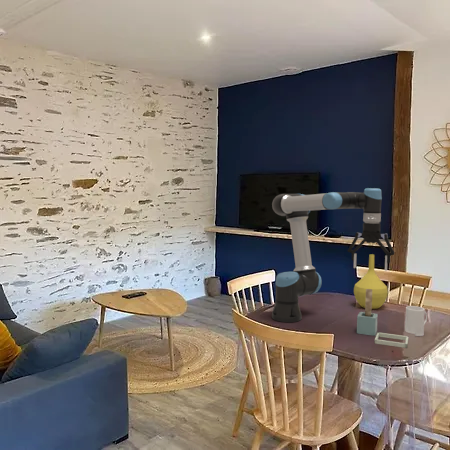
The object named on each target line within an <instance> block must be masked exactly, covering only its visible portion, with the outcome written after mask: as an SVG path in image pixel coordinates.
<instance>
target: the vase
mask: <svg viewBox="0 0 450 450" xmlns="http://www.w3.org/2000/svg"><path fill="white" fill-rule="evenodd" d="M366 289H372V310H376V309H380V308H381V307H382V306H383V305H384V304H385V302H386V300H387V298H388V292H389V291H388V286H387V285H386V284H385V283H384V282H383V280H381V278H380V277H379V276H378V275H377V273H376V272H375V254H373V253H372V254H369V257H368V270H367V272H366V273H365V274H364V275H363V276H362V278H361V279H359V281H357V282H356V283H355V284H354V287H353V294H354V295H353V296H354V297H355V300H356V303H357V305H359V306H360V307H362V308H364V309H365V302H366Z"/></svg>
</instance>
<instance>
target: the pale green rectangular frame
mask: <svg viewBox="0 0 450 450" xmlns="http://www.w3.org/2000/svg"><path fill="white" fill-rule="evenodd" d="M379 337H380V338H388V339H394V340H399V341H400V340H401V341H405V342H398V341H392V340H383V339H379ZM374 344H376V345H383V346H391V347H396V348H402V349H403V348H405V349H407V348H408V344H409V336H407V335H401V334H393V333H385V332H378V331H377V332H376V335H375V338H374Z"/></svg>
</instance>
